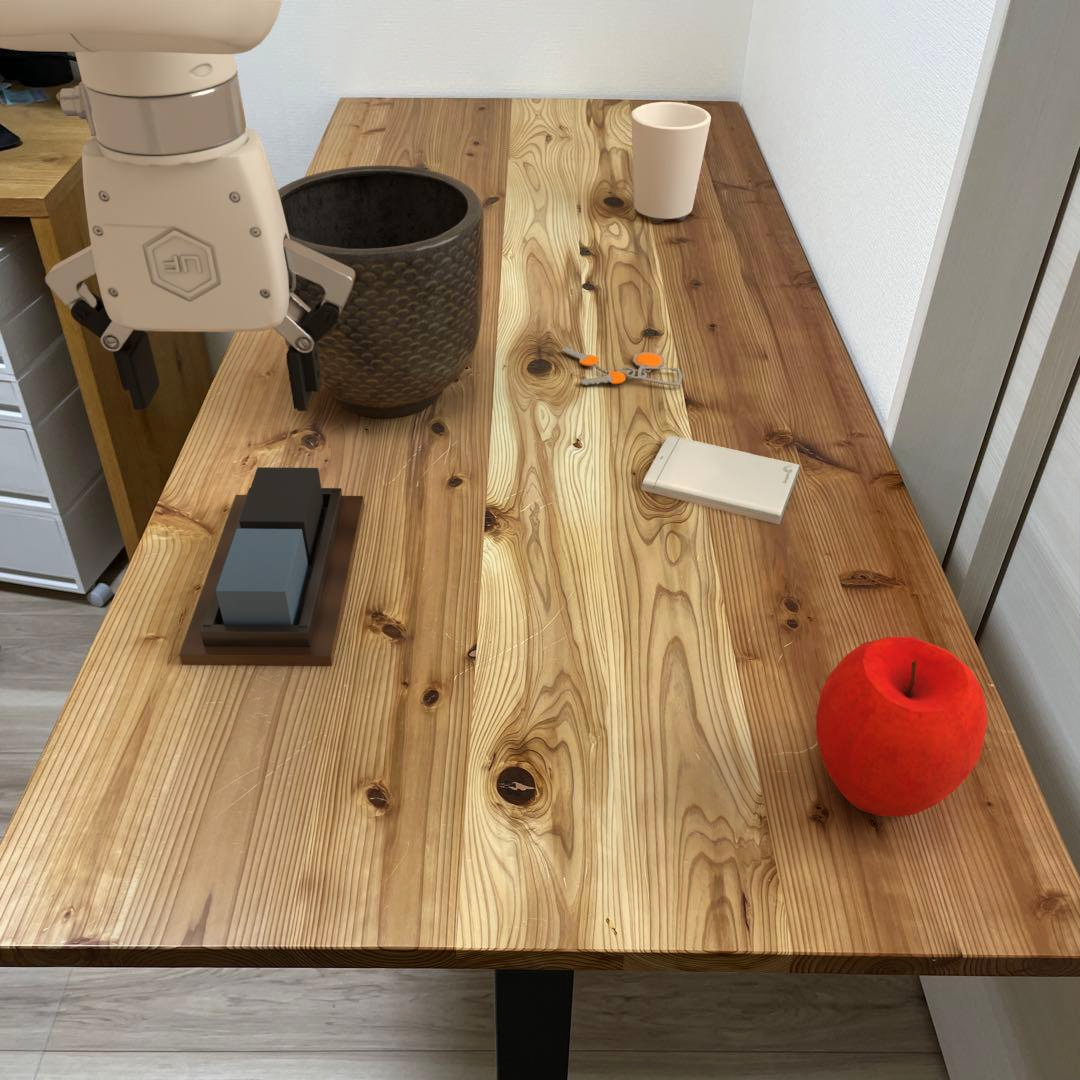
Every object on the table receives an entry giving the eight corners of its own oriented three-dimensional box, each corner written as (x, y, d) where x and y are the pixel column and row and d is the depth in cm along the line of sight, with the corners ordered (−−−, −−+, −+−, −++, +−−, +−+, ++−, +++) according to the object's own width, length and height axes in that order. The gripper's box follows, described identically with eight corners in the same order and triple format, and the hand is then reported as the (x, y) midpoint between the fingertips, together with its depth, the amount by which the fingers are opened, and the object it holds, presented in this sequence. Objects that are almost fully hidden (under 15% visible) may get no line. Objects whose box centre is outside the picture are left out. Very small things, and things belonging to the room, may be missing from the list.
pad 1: (311, 565, 85) (304, 521, 82) (248, 564, 85) (238, 520, 82) (325, 510, 90) (318, 467, 87) (265, 509, 90) (257, 467, 87)
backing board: (332, 665, 78) (328, 641, 76) (181, 664, 78) (174, 640, 76) (364, 504, 93) (361, 481, 91) (237, 503, 92) (232, 480, 91)
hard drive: (801, 462, 96) (668, 431, 100) (781, 514, 90) (641, 479, 94) (797, 477, 97) (667, 446, 101) (778, 529, 92) (640, 495, 95)
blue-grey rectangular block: (246, 572, 84) (236, 528, 81) (309, 572, 84) (302, 528, 81) (226, 635, 79) (215, 590, 76) (294, 636, 79) (285, 591, 76)
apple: (928, 728, 74) (976, 601, 66) (977, 852, 67) (1038, 725, 59) (785, 731, 74) (817, 603, 66) (819, 856, 66) (859, 728, 58)
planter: (262, 438, 100) (226, 246, 88) (319, 334, 115) (295, 158, 103) (470, 454, 98) (462, 261, 86) (500, 346, 113) (497, 169, 101)
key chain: (683, 356, 112) (683, 349, 111) (681, 394, 106) (682, 387, 106) (562, 347, 113) (562, 340, 113) (554, 384, 108) (554, 377, 107)
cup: (663, 236, 135) (673, 134, 127) (609, 211, 140) (614, 112, 132) (715, 215, 140) (727, 116, 132) (661, 192, 146) (669, 96, 137)
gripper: (-31, 136, 52) (64, 431, 63) (326, 139, 52) (359, 433, 63) (26, 89, 58) (104, 367, 69) (347, 92, 58) (374, 369, 69)
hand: (226, 398), depth 66 cm, fingers open, 9 cm apart
